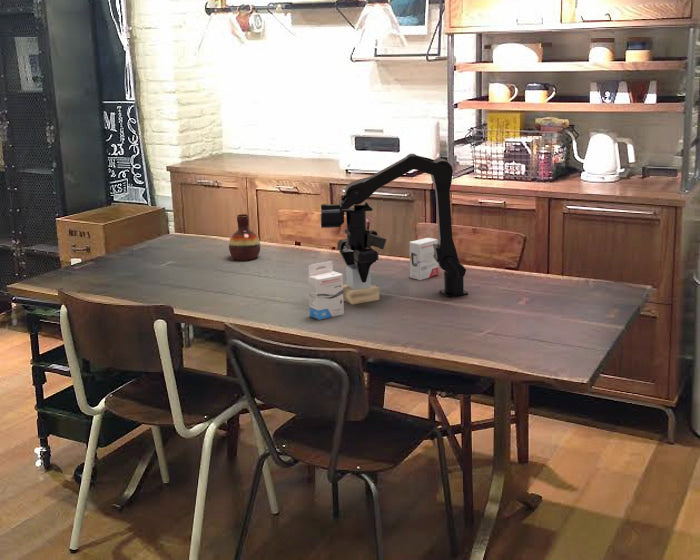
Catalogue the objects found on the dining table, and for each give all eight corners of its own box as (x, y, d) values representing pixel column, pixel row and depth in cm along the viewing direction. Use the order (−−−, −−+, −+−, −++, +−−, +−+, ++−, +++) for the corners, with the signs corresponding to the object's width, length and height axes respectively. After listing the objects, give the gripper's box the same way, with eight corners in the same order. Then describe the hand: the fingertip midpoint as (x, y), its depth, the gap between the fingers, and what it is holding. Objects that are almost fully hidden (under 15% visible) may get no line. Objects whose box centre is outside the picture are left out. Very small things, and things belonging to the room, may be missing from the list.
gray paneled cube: (370, 287, 256) (370, 267, 254) (353, 289, 254) (352, 269, 253) (364, 282, 261) (363, 262, 259) (346, 285, 259) (345, 265, 258)
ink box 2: (428, 272, 284) (428, 236, 280) (439, 275, 280) (439, 239, 277) (408, 277, 278) (408, 241, 275) (419, 280, 274) (419, 244, 271)
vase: (223, 258, 311) (220, 216, 307) (248, 253, 318) (245, 211, 314) (241, 263, 303) (238, 219, 299) (267, 257, 310) (264, 214, 306)
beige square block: (379, 300, 257) (379, 287, 256) (352, 305, 253) (351, 292, 252) (365, 293, 265) (364, 280, 263) (338, 298, 261) (337, 285, 260)
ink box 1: (319, 320, 239) (316, 268, 236) (309, 316, 243) (306, 265, 239) (344, 314, 244) (342, 263, 240) (334, 310, 248) (332, 259, 244)
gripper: (394, 229, 247) (396, 282, 251) (370, 217, 264) (372, 267, 268) (357, 233, 243) (359, 287, 248) (335, 221, 260) (337, 272, 264)
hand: (358, 278), depth 257 cm, fingers open, 9 cm apart
